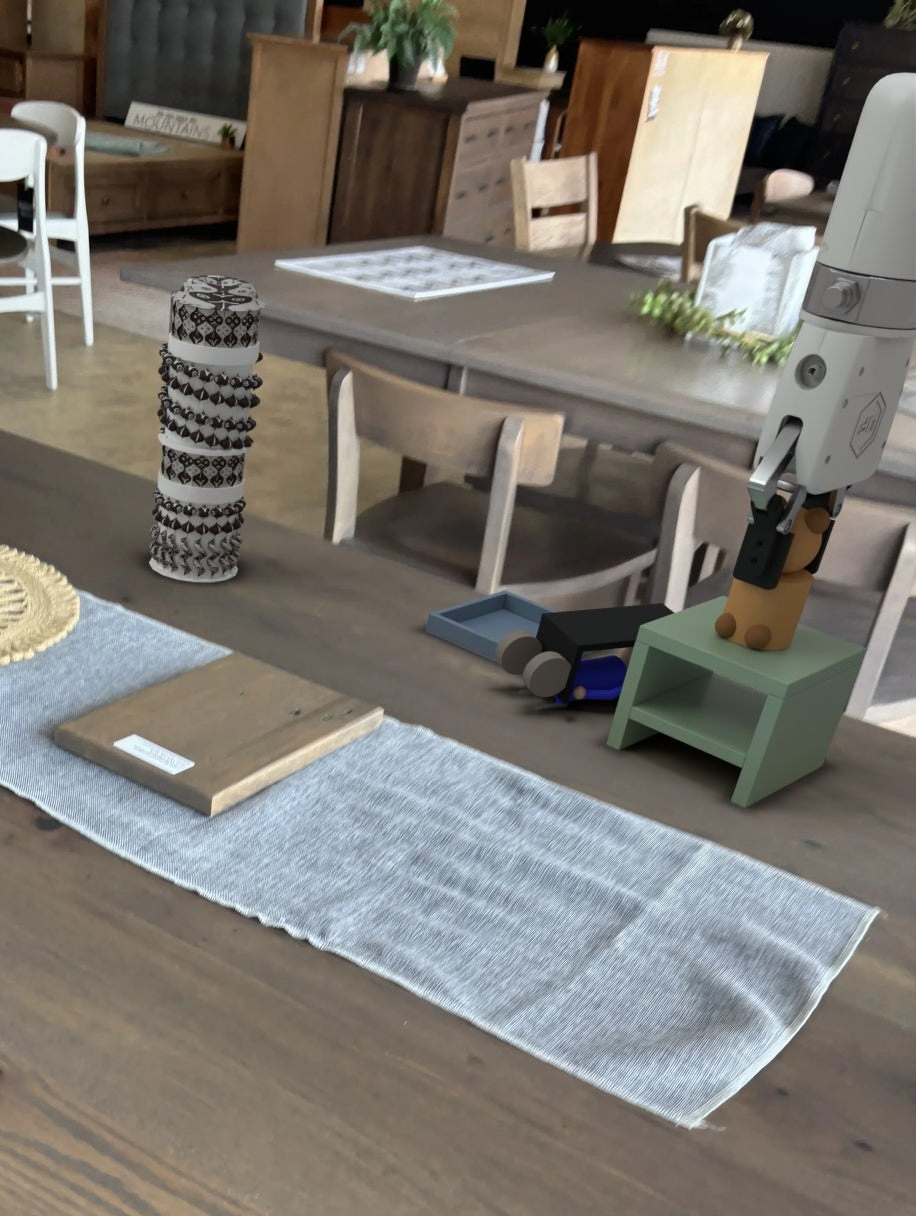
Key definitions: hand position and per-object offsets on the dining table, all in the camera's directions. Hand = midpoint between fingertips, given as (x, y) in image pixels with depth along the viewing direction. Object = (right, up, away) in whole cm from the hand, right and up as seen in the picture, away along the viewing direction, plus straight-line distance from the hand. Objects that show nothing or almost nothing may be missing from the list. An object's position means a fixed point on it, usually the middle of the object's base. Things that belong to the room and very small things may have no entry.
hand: (775, 573), depth 101 cm
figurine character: (-9, -7, +15) cm, 19 cm away
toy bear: (0, -4, +3) cm, 5 cm away
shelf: (-1, -12, +8) cm, 15 cm away
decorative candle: (-42, +9, +33) cm, 54 cm away
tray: (-13, +1, +24) cm, 28 cm away
